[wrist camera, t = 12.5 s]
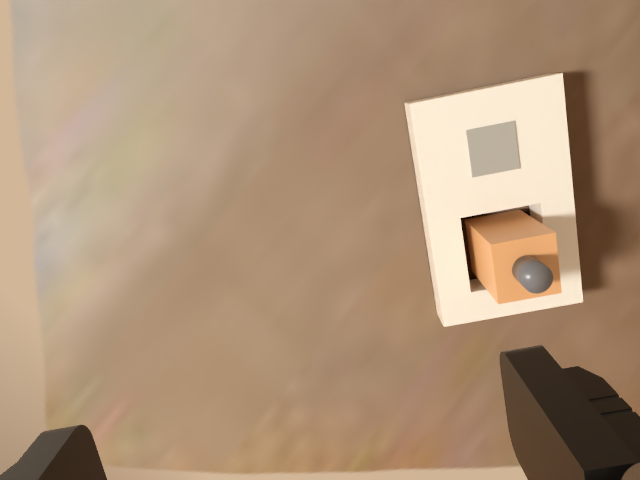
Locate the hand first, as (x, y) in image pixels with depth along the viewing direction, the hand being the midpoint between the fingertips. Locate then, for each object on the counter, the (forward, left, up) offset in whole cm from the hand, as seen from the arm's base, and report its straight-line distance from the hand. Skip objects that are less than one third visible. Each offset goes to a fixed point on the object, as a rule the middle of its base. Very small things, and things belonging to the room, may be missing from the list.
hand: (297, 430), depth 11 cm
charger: (+7, +12, -32) cm, 35 cm away
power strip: (+4, +12, -32) cm, 35 cm away
